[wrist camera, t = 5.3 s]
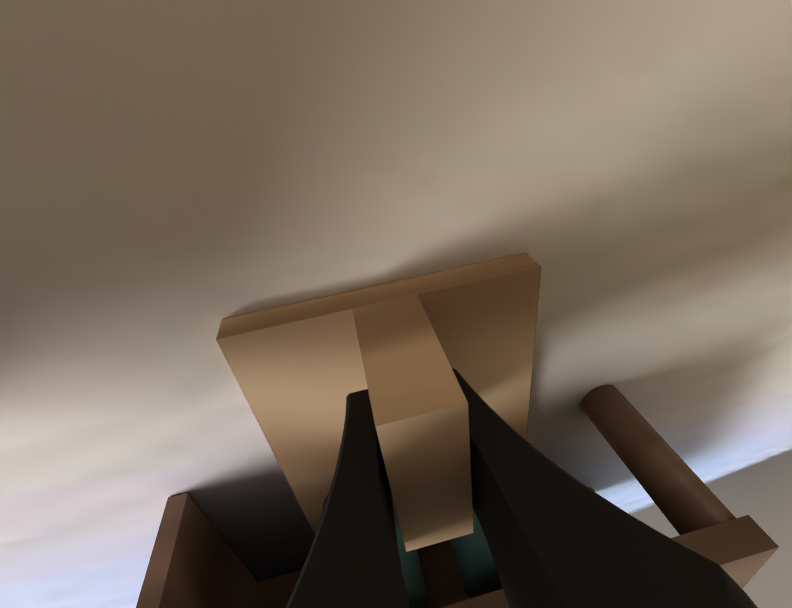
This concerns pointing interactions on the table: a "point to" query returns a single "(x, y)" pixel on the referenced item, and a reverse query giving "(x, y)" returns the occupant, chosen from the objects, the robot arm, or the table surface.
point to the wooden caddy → (448, 603)
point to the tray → (396, 393)
